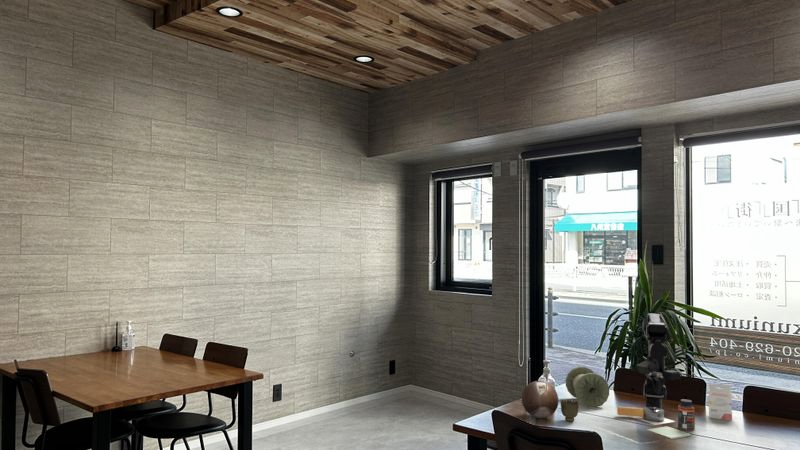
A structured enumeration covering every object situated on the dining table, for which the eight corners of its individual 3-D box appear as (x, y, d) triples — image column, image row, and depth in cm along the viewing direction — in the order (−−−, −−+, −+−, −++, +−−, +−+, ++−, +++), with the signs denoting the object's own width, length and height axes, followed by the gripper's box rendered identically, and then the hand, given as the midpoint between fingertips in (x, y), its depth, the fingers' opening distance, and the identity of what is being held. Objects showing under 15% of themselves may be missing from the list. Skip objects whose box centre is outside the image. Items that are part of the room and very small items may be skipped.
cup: (580, 424, 232) (579, 404, 232) (561, 423, 234) (561, 403, 234) (578, 419, 239) (578, 399, 240) (559, 417, 241) (559, 398, 241)
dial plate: (651, 415, 247) (651, 414, 247) (676, 422, 236) (675, 421, 236) (631, 418, 242) (631, 417, 242) (655, 426, 231) (655, 424, 231)
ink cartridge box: (731, 418, 243) (731, 383, 244) (732, 421, 239) (731, 385, 240) (708, 415, 247) (708, 381, 248) (708, 418, 243) (708, 383, 244)
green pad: (666, 427, 229) (666, 426, 229) (691, 435, 219) (691, 434, 219) (646, 431, 224) (646, 429, 224) (670, 439, 214) (670, 437, 214)
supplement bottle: (688, 432, 223) (687, 402, 224) (674, 428, 228) (674, 399, 229) (698, 430, 226) (697, 401, 226) (684, 426, 231) (684, 397, 232)
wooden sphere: (530, 423, 232) (530, 385, 233) (515, 413, 247) (516, 378, 248) (565, 421, 235) (565, 384, 236) (548, 411, 250) (548, 376, 251)
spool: (609, 407, 258) (609, 374, 259) (575, 407, 258) (575, 373, 259) (597, 398, 275) (597, 366, 275) (565, 398, 275) (565, 366, 276)
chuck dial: (661, 417, 242) (661, 405, 242) (665, 422, 234) (665, 410, 234) (616, 414, 246) (616, 402, 246) (618, 419, 238) (618, 407, 238)
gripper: (624, 351, 239) (624, 389, 238) (660, 359, 222) (660, 400, 221) (644, 350, 244) (645, 387, 243) (681, 357, 226) (682, 397, 226)
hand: (657, 393), depth 233 cm, fingers closed
